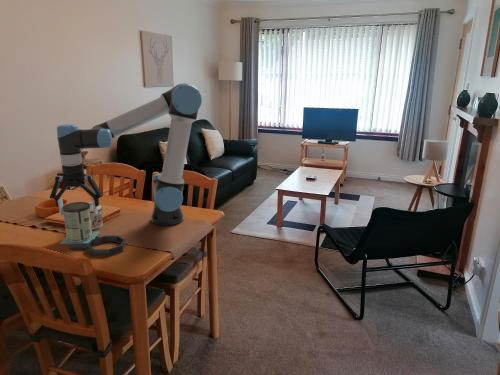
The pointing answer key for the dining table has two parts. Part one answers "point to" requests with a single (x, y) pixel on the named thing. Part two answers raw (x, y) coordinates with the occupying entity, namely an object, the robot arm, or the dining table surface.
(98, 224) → the teacup with lid
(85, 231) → the coffee can
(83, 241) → the teal pad
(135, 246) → the dining table surface
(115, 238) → the ring
